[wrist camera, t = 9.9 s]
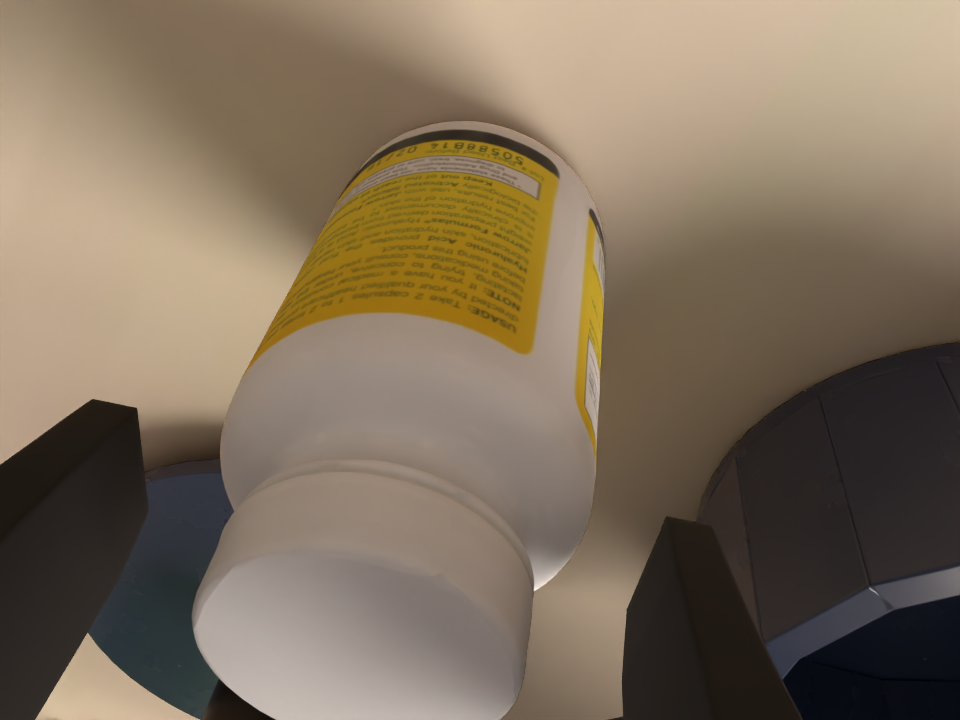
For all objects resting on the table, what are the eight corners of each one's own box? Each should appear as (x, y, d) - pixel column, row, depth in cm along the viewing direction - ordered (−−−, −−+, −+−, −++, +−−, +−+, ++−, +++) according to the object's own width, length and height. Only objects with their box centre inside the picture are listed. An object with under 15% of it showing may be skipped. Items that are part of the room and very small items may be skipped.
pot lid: (585, 678, 27) (578, 848, 23) (266, 749, 32) (216, 898, 28) (337, 376, 21) (270, 535, 17) (-5, 523, 26) (-117, 671, 22)
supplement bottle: (286, 210, 18) (35, 600, 10) (496, 54, 16) (368, 415, 8) (452, 385, 20) (346, 815, 13) (659, 274, 18) (682, 721, 10)
